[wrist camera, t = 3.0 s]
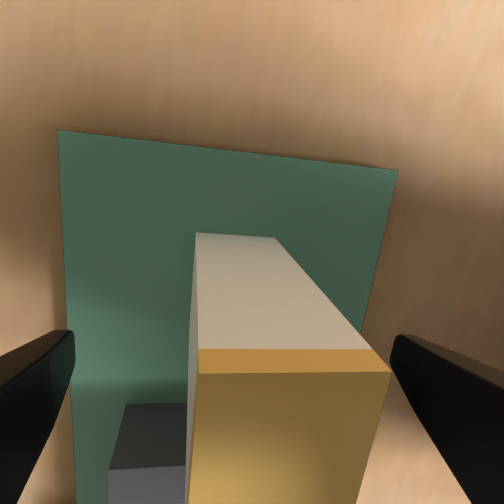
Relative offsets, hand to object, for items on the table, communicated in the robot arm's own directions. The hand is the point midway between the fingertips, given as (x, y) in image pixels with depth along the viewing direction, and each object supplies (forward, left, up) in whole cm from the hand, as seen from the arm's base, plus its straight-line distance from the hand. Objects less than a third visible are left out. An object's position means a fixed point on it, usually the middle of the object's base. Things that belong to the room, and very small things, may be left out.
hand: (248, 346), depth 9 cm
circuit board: (0, +5, -5) cm, 7 cm away
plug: (0, 0, -4) cm, 4 cm away
